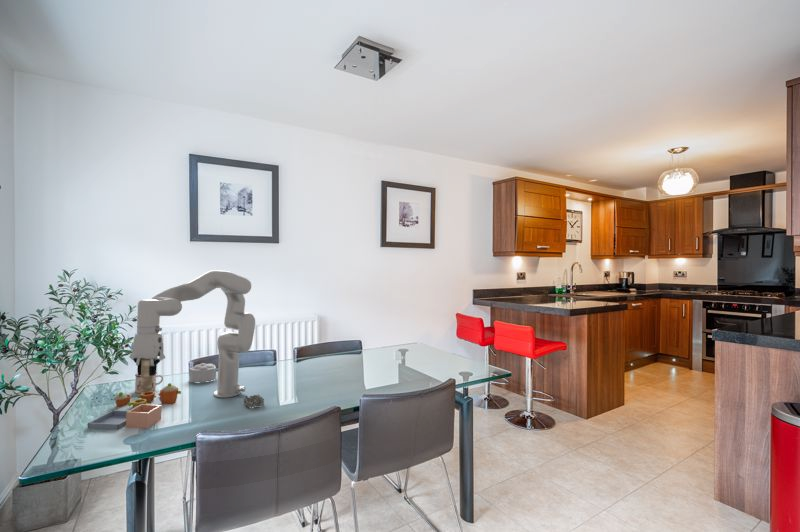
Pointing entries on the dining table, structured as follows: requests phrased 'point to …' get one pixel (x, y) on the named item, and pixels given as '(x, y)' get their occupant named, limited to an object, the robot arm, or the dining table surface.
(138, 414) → the salmon pink open bin
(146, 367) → the dowel
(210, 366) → the lumpy-topped squat cylinder
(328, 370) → the dining table surface
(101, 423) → the tray
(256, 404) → the dark mottled rough lump
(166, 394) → the toy tea set
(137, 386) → the teacup with lid
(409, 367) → the dining table surface
